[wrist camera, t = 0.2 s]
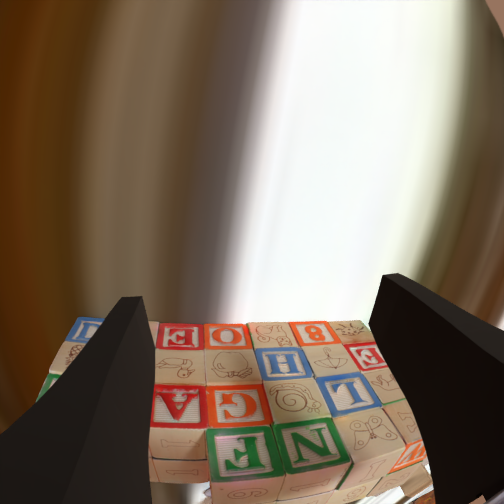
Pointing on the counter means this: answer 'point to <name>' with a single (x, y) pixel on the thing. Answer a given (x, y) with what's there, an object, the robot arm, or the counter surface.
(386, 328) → the robot arm
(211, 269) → the counter surface
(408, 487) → the maple block
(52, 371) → the stack of blocks
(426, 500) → the tin
